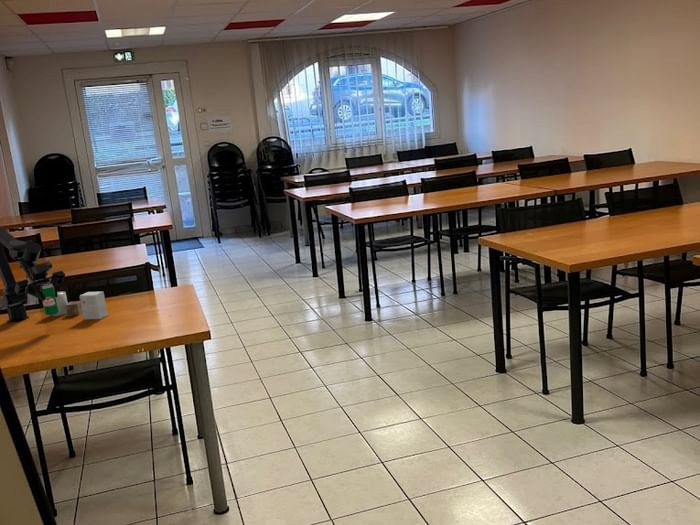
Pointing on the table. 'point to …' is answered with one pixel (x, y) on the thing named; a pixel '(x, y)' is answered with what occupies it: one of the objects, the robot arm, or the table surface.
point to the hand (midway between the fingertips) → (50, 298)
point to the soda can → (49, 299)
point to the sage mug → (61, 303)
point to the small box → (93, 305)
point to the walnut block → (74, 308)
